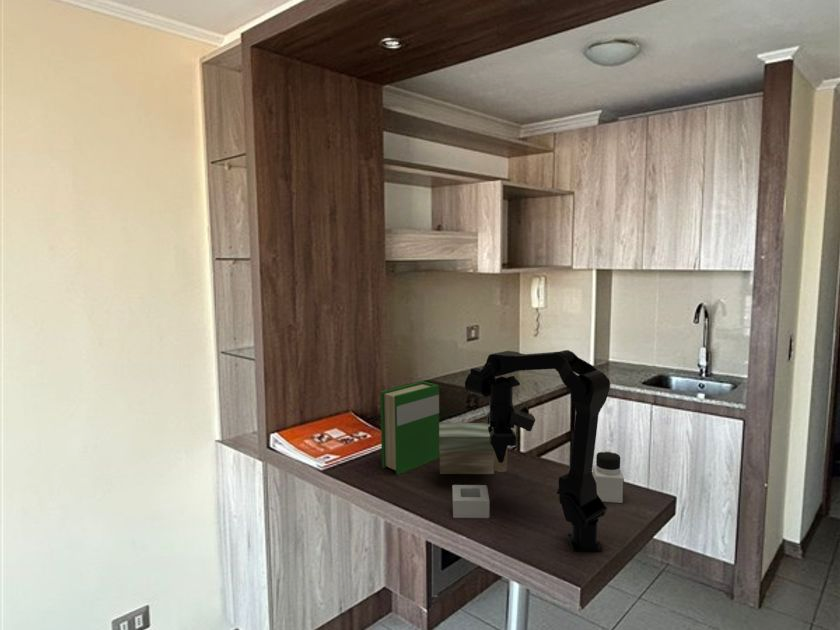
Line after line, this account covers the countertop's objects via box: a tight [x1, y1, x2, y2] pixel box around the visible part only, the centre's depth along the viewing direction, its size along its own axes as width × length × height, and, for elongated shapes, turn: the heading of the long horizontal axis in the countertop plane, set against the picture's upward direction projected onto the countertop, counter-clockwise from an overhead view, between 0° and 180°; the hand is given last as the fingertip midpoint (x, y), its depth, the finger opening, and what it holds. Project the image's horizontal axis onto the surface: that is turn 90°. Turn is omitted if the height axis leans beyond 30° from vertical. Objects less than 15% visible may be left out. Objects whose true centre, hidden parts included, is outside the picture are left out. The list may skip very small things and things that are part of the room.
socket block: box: [452, 484, 490, 519], centre depth 141 cm, size 9×9×4 cm
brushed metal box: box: [439, 422, 495, 475], centre depth 158 cm, size 12×16×15 cm
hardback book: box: [379, 380, 440, 475], centre depth 171 cm, size 18×7×24 cm, turn 134°
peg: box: [493, 446, 508, 473], centre depth 142 cm, size 4×4×9 cm
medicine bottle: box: [592, 450, 625, 504], centre depth 147 cm, size 7×7×12 cm
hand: (500, 459), depth 142 cm, fingers closed on peg, 3 cm apart
